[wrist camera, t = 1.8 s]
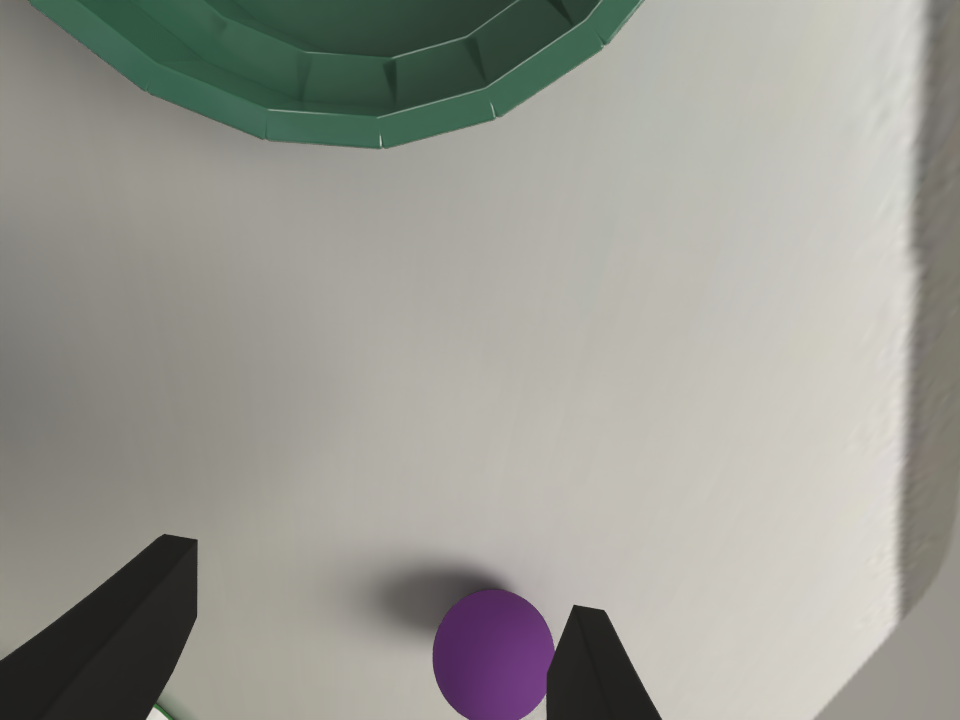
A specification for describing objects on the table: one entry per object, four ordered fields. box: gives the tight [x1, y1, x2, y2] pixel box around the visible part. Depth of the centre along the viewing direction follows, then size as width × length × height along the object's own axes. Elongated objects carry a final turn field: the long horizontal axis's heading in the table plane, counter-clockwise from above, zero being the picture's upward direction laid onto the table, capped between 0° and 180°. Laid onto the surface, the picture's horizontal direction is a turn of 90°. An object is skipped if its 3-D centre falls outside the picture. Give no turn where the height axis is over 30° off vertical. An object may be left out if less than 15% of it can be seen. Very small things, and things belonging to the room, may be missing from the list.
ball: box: [433, 589, 555, 720], centre depth 22 cm, size 4×4×4 cm
